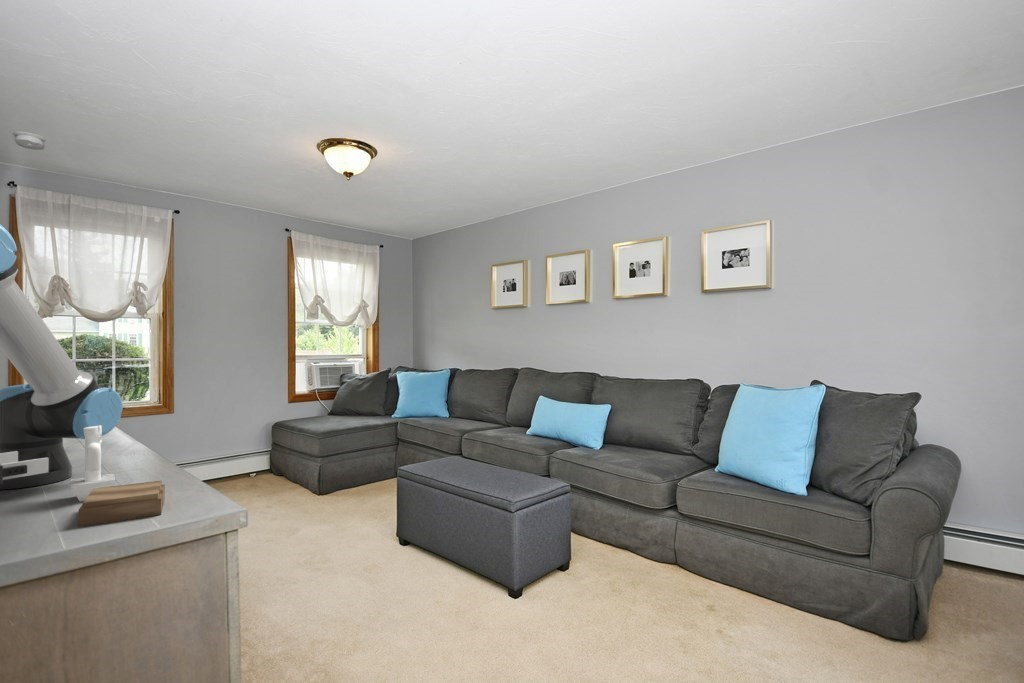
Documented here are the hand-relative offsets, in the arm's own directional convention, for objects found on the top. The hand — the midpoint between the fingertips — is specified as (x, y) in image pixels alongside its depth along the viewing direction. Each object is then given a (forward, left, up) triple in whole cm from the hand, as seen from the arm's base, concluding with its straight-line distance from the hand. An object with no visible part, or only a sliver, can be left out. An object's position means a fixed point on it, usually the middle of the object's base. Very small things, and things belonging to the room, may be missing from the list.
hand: (32, 461), depth 100 cm
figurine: (-5, +9, -10) cm, 14 cm away
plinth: (+11, +16, -10) cm, 21 cm away
